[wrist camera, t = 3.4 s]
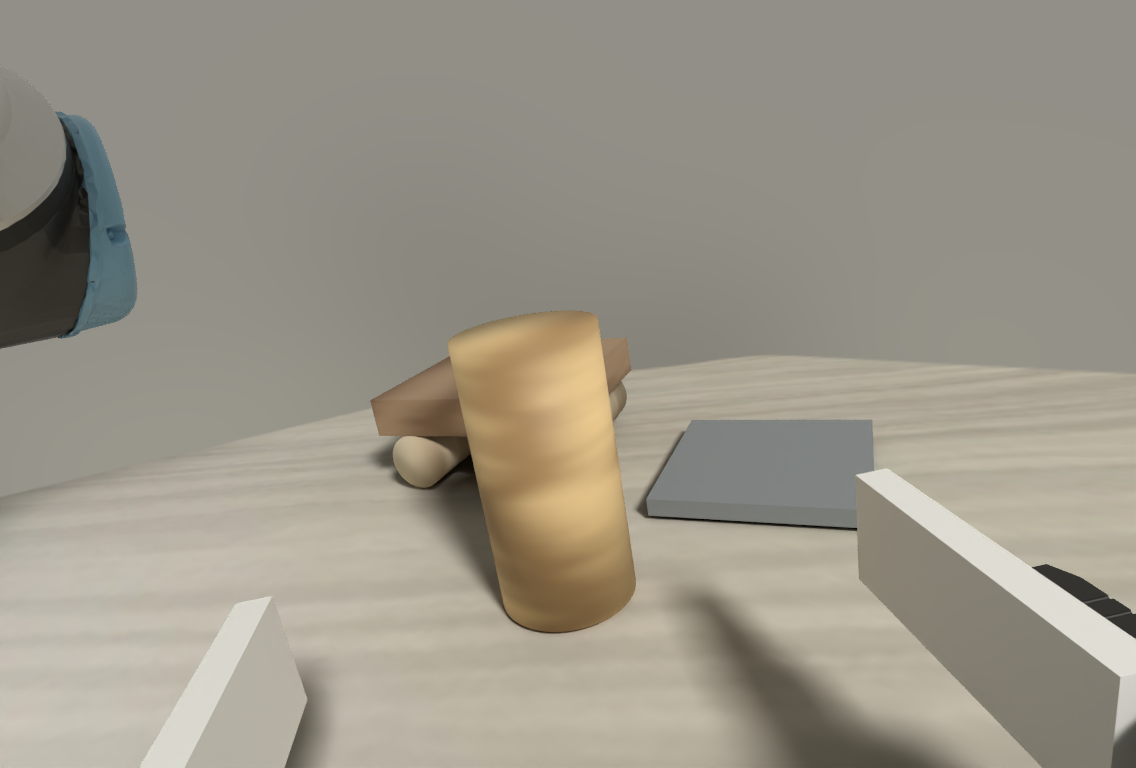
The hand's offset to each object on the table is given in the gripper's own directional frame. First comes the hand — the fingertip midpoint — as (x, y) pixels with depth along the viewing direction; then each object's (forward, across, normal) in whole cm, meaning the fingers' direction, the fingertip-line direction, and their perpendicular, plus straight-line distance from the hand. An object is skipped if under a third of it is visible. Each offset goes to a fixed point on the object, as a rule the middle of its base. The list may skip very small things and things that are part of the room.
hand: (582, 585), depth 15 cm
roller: (+9, 0, -6) cm, 11 cm away
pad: (+14, +10, -6) cm, 19 cm away
